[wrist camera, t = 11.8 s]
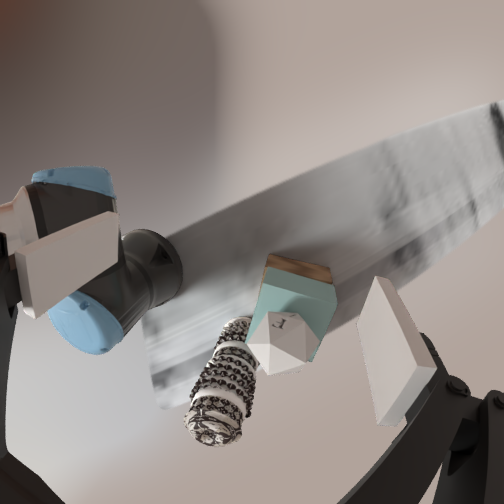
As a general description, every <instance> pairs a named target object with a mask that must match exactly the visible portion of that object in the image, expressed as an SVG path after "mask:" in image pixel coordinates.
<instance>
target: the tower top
mask: <svg viewBox="0 0 504 504" xmlns="http://www.w3.org/2000/svg"><path fill="white" fill-rule="evenodd" d="M337 305H338V302H337V297H336V292H335V287H334V285H331V284H327V283H324V282H320V281H317V280H313V279H310V278H306V277H303V276H300V275H296V274H293V273H289V272H286V271H282V270H279V269H276V268H272V267H269V266H268V268H267V271H266V274H265V277H264V280H263V284H262V287H261V290H260V294H259V297H258V301H257V304H256V307H255V311H254V314H253V317H252V321H251V324H250V327H249V331H248V334H247V337H246V341H245V344H247V342H248V341H249V339H250V338H251V336H252V335H253V333H254V332H255V330H256V329H257V327H258V326H259V324H260V322H261V321H262V319H263V318H264V316H265V315H266V313H267V312H268V311H270V312H287V313H288V312H291V313H298V314H299V315H300V316H301V317H302V318H303V320H304V321H305V322H306V323H307V325H308V326H309V327H310V329H311V330H312V331H313V333H314V334H315V335H316V337H317V338H318V340H319V341H320V343H319V344H318V346H317V347H316V349H315V350H314V352H313V353H312V355H311V356H310V358H309V359H308V361H309V362H312V361H313V358H314V356H315V354H316V352H317V350H318V348H319V346H320V344H321V341H322V339H323V337H324V335H325V333H326V330H327V328H328V326H329V324H330V321H331V319H332V317H333V315H334V312H335V310H336V308H337Z"/></svg>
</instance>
